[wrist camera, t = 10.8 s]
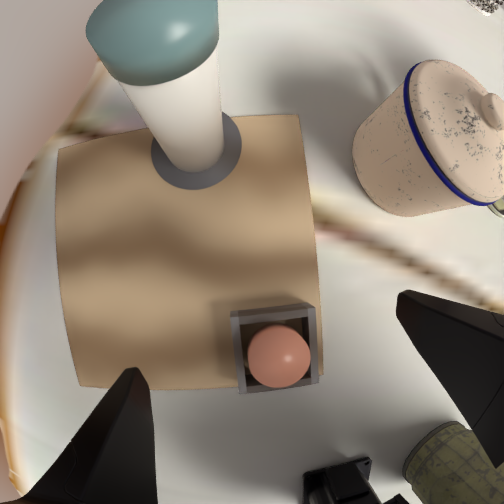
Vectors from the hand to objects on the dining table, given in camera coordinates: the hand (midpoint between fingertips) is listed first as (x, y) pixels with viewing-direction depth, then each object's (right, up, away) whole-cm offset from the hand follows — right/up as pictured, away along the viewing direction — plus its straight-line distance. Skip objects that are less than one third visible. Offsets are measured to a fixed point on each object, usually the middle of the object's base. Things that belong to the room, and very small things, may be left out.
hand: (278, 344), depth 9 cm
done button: (+1, -3, +9) cm, 10 cm away
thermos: (+19, -19, +12) cm, 30 cm away
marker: (-5, +10, +10) cm, 15 cm away
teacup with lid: (+11, +11, +12) cm, 20 cm away
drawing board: (-6, +3, +10) cm, 12 cm away
